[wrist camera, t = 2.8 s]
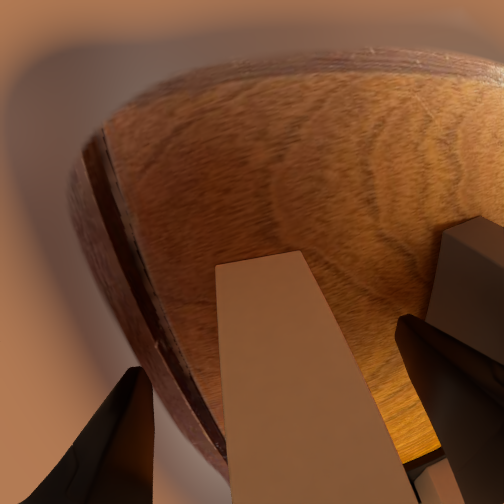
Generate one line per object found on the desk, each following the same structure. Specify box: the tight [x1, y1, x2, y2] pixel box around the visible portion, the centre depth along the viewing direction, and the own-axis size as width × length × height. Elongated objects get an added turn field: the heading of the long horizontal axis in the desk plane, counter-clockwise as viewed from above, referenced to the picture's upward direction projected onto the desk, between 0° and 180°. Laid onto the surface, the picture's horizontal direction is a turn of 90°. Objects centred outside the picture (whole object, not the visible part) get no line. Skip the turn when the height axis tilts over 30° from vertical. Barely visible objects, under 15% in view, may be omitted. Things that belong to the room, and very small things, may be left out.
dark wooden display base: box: [403, 447, 447, 504], centre depth 22 cm, size 18×8×4 cm, turn 98°
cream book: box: [215, 250, 418, 504], centre depth 7 cm, size 3×5×8 cm, turn 8°
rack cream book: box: [414, 458, 465, 504], centre depth 20 cm, size 3×5×8 cm, turn 8°
